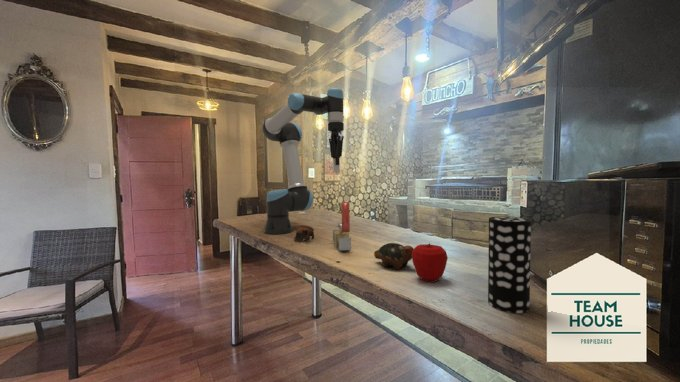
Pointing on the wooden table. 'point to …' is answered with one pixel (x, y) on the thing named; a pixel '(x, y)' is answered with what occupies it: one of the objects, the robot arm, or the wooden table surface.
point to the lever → (345, 218)
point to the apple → (429, 261)
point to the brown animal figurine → (304, 233)
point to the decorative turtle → (394, 255)
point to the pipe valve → (341, 240)
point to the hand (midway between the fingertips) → (336, 172)
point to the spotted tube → (509, 264)
